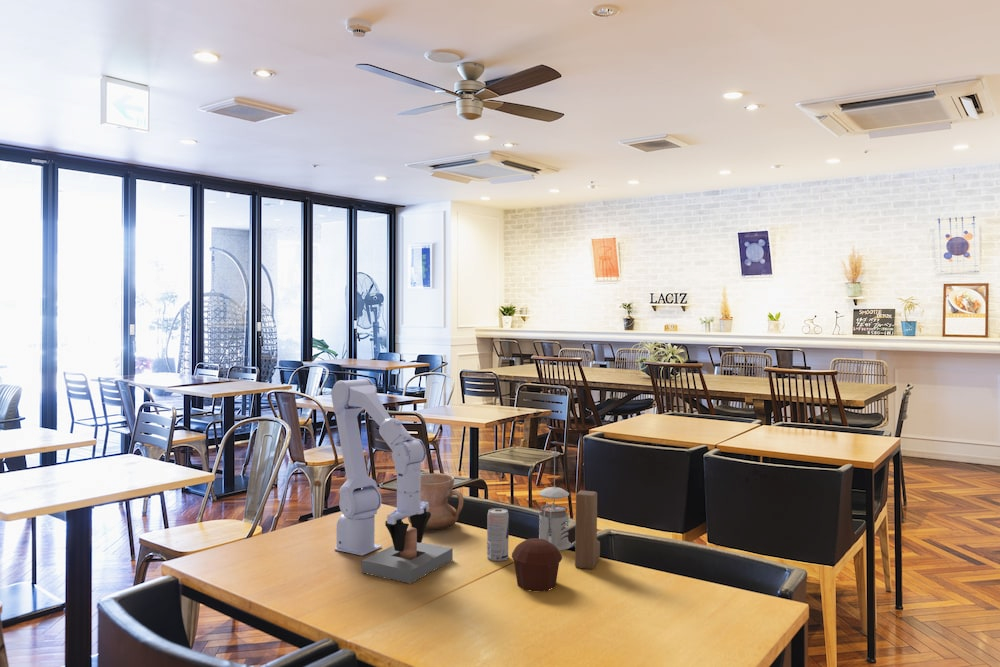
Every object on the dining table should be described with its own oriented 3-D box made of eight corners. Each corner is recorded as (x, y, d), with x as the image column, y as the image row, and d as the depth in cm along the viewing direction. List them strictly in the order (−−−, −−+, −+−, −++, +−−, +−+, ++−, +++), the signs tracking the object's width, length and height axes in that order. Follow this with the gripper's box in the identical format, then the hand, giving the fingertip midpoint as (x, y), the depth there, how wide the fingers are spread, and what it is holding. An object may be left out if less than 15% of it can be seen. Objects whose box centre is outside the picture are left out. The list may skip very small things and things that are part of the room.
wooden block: (582, 555, 181) (583, 485, 181) (600, 558, 180) (601, 487, 180) (574, 567, 173) (575, 494, 172) (593, 570, 171) (594, 495, 171)
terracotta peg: (396, 567, 172) (396, 530, 172) (406, 562, 175) (406, 526, 175) (410, 570, 170) (410, 533, 170) (419, 565, 174) (420, 528, 173)
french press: (575, 541, 194) (576, 449, 193) (565, 554, 183) (566, 457, 182) (540, 537, 197) (541, 446, 196) (528, 550, 186) (529, 454, 185)
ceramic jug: (394, 529, 202) (394, 479, 202) (420, 516, 216) (420, 469, 215) (449, 538, 195) (450, 486, 195) (473, 524, 208) (474, 475, 208)
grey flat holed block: (361, 572, 168) (361, 560, 168) (406, 550, 184) (406, 539, 184) (410, 583, 162) (410, 570, 161) (452, 560, 177) (452, 548, 177)
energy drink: (509, 554, 182) (509, 508, 181) (507, 562, 176) (507, 514, 176) (488, 554, 182) (488, 507, 182) (485, 561, 177) (486, 513, 177)
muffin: (572, 584, 162) (572, 541, 162) (540, 598, 154) (541, 552, 154) (532, 571, 170) (533, 530, 170) (500, 584, 162) (501, 540, 162)
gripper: (404, 499, 164) (404, 557, 164) (439, 486, 177) (438, 540, 177) (380, 495, 167) (379, 552, 168) (415, 482, 180) (415, 536, 180)
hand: (408, 546), depth 173 cm, fingers open, 7 cm apart
